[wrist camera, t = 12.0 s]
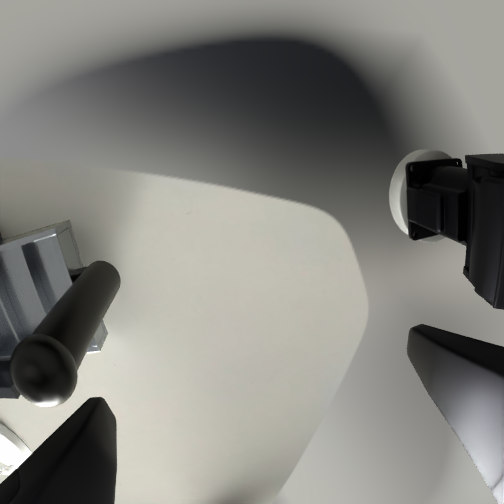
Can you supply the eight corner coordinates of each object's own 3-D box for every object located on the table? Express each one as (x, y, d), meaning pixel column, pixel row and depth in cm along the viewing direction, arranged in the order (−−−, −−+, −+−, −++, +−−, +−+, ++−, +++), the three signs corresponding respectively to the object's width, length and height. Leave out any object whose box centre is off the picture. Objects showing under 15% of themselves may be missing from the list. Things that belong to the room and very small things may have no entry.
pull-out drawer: (106, 209, 17) (6, 282, 7) (142, 327, 20) (110, 463, 9) (-32, 252, 16) (-129, 318, 6) (6, 346, 19) (-58, 439, 8)
